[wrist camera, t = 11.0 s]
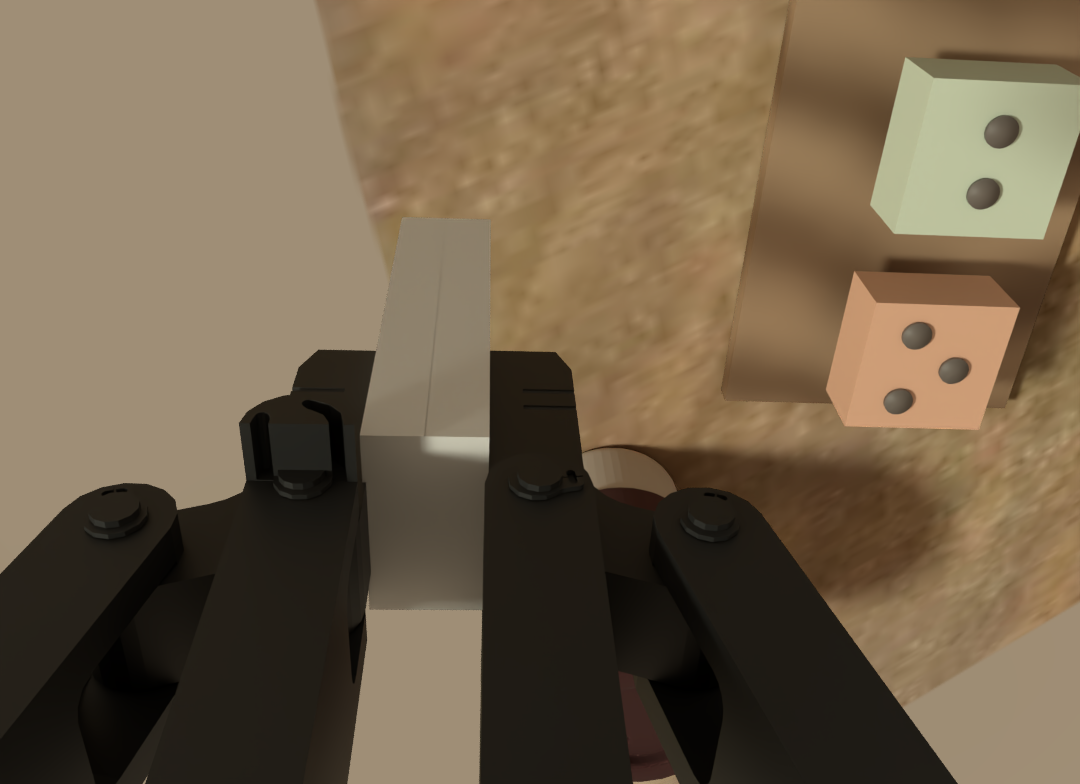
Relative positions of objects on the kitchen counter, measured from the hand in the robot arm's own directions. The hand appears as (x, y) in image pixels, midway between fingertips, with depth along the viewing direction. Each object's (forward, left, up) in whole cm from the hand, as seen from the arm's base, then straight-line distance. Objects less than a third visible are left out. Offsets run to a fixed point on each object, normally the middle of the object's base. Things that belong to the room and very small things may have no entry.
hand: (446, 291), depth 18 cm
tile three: (+13, +20, -23) cm, 33 cm away
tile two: (+4, +20, -23) cm, 31 cm away
